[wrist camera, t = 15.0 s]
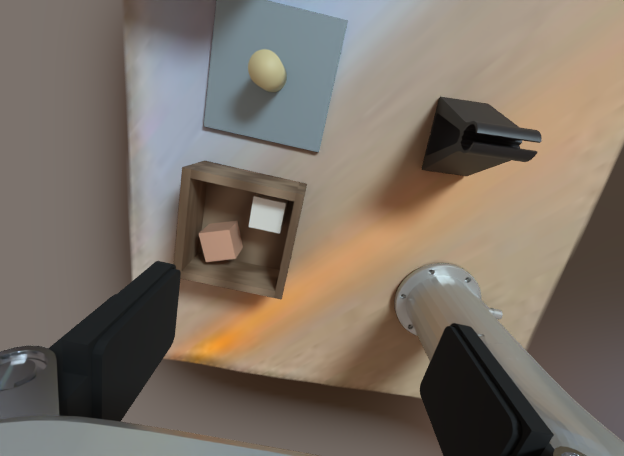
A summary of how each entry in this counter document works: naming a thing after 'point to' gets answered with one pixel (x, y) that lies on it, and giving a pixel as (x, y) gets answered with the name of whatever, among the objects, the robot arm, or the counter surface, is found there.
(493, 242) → the counter surface
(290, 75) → the lid
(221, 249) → the terracotta block
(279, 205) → the white block
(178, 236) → the box
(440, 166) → the phone stand
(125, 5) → the counter surface
